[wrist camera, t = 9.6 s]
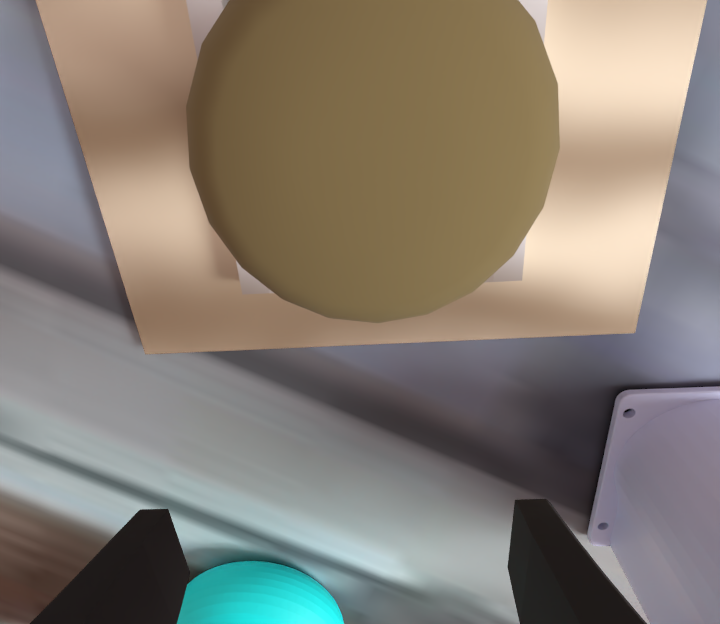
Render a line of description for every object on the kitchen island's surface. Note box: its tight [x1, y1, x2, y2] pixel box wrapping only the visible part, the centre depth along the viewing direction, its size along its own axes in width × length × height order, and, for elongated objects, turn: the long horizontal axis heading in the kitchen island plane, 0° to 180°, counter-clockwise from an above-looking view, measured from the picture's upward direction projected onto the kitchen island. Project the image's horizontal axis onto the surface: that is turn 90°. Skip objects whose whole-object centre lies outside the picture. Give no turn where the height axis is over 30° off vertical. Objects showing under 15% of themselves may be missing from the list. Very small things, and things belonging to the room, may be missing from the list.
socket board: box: [36, 0, 707, 354], centre depth 15 cm, size 16×20×2 cm
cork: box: [186, 0, 560, 323], centre depth 10 cm, size 6×6×11 cm
